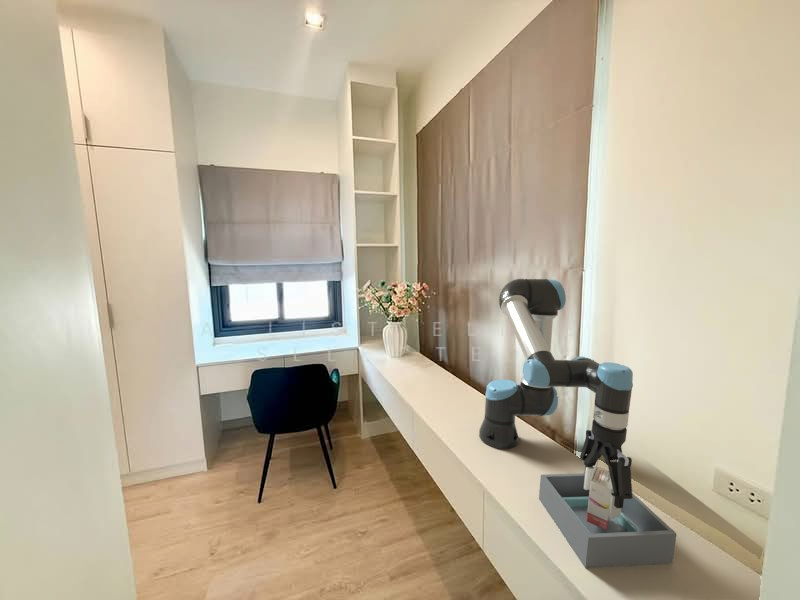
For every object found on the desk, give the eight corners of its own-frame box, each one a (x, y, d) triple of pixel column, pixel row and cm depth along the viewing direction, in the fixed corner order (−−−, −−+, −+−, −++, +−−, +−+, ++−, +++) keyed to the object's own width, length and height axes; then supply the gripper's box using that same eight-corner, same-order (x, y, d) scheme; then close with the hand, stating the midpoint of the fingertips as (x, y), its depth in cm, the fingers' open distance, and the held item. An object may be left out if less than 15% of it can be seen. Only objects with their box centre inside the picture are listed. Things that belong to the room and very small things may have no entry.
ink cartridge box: (607, 532, 82) (614, 479, 80) (585, 521, 85) (591, 470, 84) (612, 512, 89) (617, 463, 87) (591, 503, 92) (596, 455, 90)
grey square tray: (538, 498, 98) (540, 474, 97) (607, 496, 99) (610, 472, 98) (585, 567, 76) (588, 537, 75) (672, 563, 78) (676, 533, 77)
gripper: (570, 404, 94) (564, 475, 97) (628, 448, 73) (617, 537, 76) (595, 404, 95) (587, 474, 98) (659, 447, 73) (647, 535, 76)
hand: (600, 501), depth 87 cm, fingers closed on ink cartridge box, 9 cm apart
